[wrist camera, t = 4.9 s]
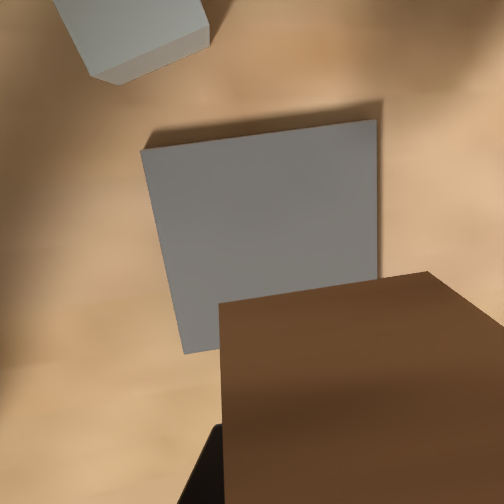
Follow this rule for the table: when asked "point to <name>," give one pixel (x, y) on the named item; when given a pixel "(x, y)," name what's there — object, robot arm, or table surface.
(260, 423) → the walnut block
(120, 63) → the painted cube
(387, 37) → the table surface
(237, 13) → the table surface
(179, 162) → the coaster
